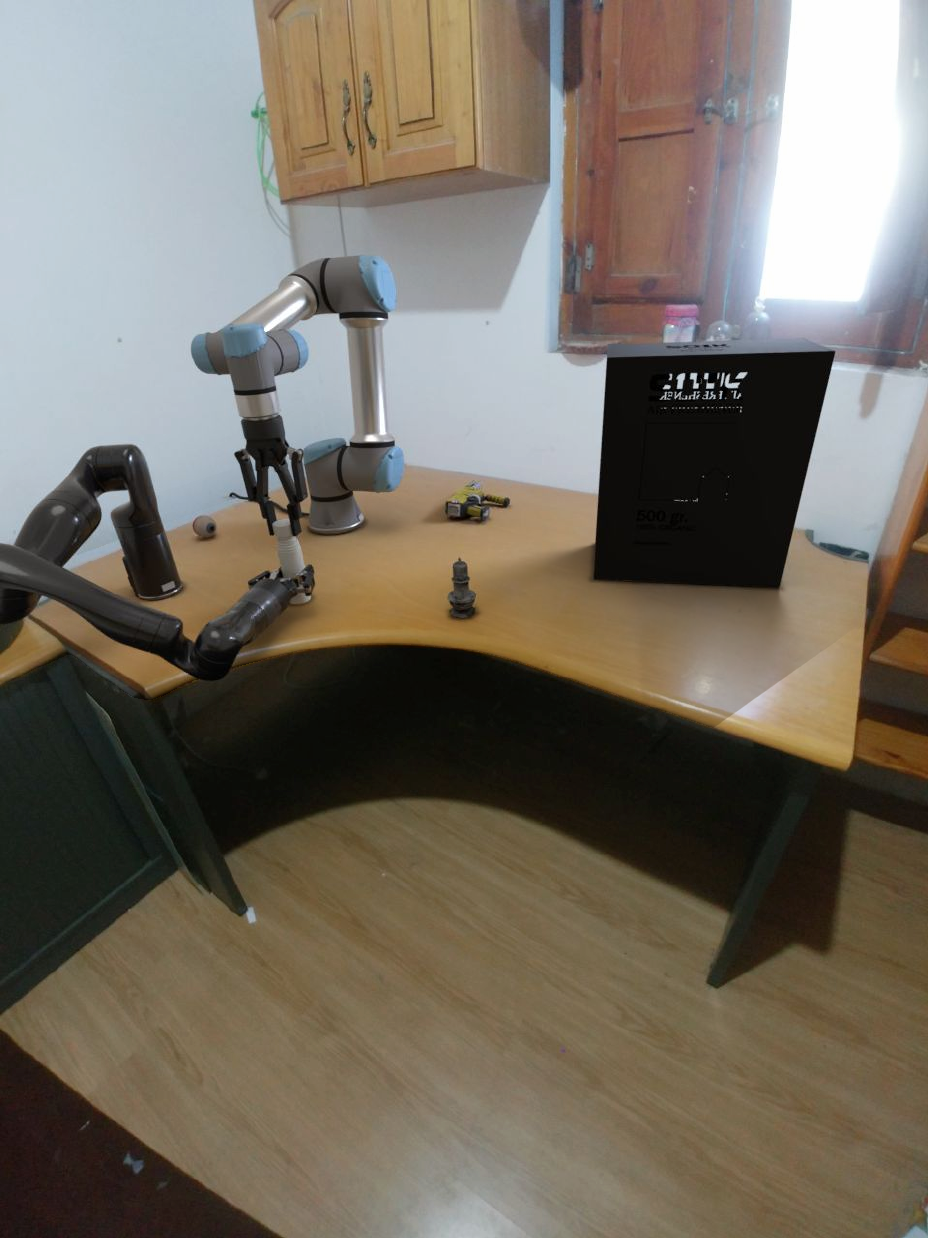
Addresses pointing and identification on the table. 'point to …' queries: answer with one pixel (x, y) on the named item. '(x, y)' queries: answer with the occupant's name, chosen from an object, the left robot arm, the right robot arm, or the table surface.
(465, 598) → the grey chess piece
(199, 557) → the table surface
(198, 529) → the eyeball
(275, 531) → the cap
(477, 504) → the toy gun
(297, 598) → the bottle
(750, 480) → the cardboard box
